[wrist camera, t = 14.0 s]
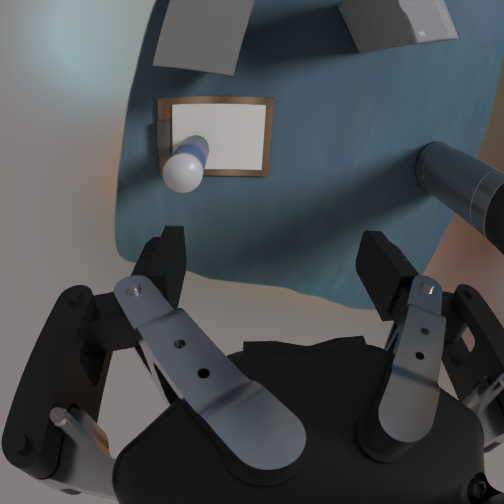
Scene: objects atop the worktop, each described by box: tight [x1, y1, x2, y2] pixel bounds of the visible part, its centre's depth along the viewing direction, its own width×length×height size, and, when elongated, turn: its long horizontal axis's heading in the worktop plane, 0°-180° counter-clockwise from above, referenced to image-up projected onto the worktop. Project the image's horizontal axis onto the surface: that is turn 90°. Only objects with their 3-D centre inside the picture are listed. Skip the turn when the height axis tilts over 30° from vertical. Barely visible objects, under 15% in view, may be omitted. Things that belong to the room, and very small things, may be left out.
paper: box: [172, 104, 266, 170], centre depth 35 cm, size 12×9×1 cm
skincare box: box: [337, 0, 458, 53], centre depth 21 cm, size 8×7×16 cm
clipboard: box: [157, 96, 274, 177], centre depth 35 cm, size 15×11×2 cm
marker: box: [163, 135, 209, 193], centre depth 31 cm, size 4×4×12 cm
